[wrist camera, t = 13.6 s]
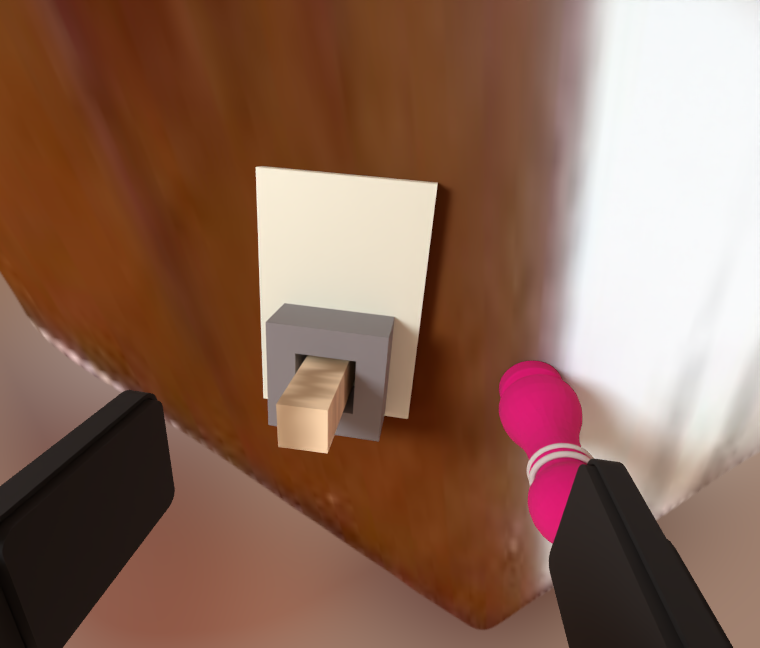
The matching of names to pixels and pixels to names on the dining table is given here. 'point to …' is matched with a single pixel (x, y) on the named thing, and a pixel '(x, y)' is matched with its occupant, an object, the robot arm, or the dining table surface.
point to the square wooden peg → (314, 403)
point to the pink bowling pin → (544, 437)
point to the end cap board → (343, 284)
